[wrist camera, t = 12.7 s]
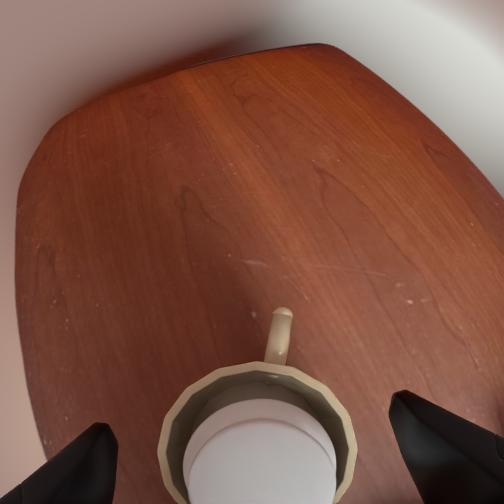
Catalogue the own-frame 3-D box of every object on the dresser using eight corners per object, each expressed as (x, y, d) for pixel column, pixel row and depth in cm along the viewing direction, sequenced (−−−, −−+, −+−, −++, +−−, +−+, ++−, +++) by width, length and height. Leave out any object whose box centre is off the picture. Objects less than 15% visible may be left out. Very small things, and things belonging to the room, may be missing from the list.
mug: (314, 514, 13) (335, 545, 8) (174, 490, 14) (144, 514, 9) (343, 340, 19) (372, 311, 14) (212, 319, 20) (197, 284, 15)
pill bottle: (229, 503, 13) (203, 582, 5) (195, 421, 16) (131, 425, 7) (320, 470, 14) (387, 520, 6) (286, 389, 17) (319, 363, 8)
